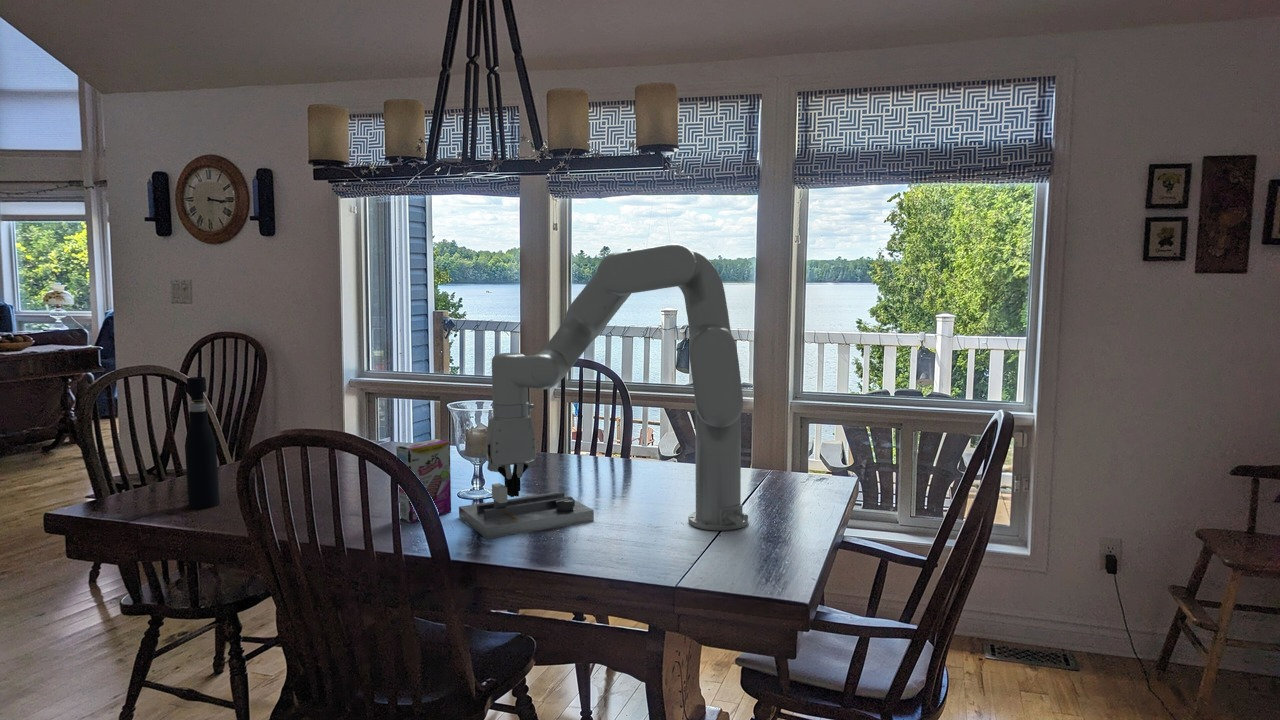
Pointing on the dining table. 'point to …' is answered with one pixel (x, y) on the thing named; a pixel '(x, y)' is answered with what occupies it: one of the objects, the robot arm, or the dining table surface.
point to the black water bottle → (200, 451)
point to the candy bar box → (427, 474)
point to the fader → (499, 495)
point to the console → (525, 515)
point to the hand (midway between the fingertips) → (512, 495)
